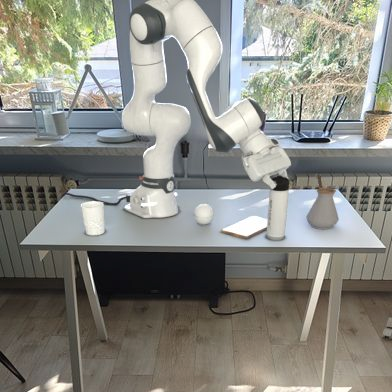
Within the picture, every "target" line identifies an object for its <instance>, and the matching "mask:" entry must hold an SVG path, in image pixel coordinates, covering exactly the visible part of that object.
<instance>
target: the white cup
mask: <svg viewBox="0 0 392 392" xmlns="http://www.w3.org/2000/svg"><path fill="white" fill-rule="evenodd" d="M104 205H105V204H104V203H102V202H98V201H94V200H92V201H85V202H82V203H80V210H81V216H82V222H83V226H84V231H85V234H86V235H88V236H99V235H103V234H105V232H106V229H105V223H106V222H105V207H104Z"/></svg>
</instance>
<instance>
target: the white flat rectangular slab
mask: <svg viewBox="0 0 392 392" xmlns="http://www.w3.org/2000/svg"><path fill="white" fill-rule="evenodd" d="M267 221H268V218H267V217H266V218H265V217H261V216H257V215H253V214H252V215H251V216H248V217H246V218H244V219H242V220H239V221H237V222H235V223H233V224H231V225H229V226H226V227H224V228H222V229H221V233H222V234H226V235H230V236H232V237H233V236H234V237H237V238H240V239H244V240H248V239H250V238H252V237H254V236H256V235H259V234H260V233H262V232H264V231H267Z"/></svg>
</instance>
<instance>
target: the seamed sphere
mask: <svg viewBox="0 0 392 392" xmlns="http://www.w3.org/2000/svg"><path fill="white" fill-rule="evenodd" d="M214 215H215V213H214V210H213V208H212V207H211V206H210V204H208V203H201V204H198V205H197V206H196V207H195V209H194V211H193V218H194V220H195V222H197V223H198V224H200V225H203V226H204V225H208V224H210V223H211V222H212V221H213V219H214Z"/></svg>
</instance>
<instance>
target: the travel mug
mask: <svg viewBox="0 0 392 392" xmlns="http://www.w3.org/2000/svg"><path fill="white" fill-rule="evenodd" d="M288 178H289V177H288ZM288 178H285V177H282V176H281V175H277V176H275V177H272V178H270V179H271V180H272V181H273V182H274V181H275V182H276V184H277V187H276V188H274V189H271V188H270V187H269V192H268V194H269V196H268V207H267V211H268V212H267V219H268V221H267V229H266V238H267V239H269V240H271V241H281V240H283V239H284V238H285V237H286V225H287V213H288V203H289V193H290V191H289V190H290V181H289V180H290V179H288Z"/></svg>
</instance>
